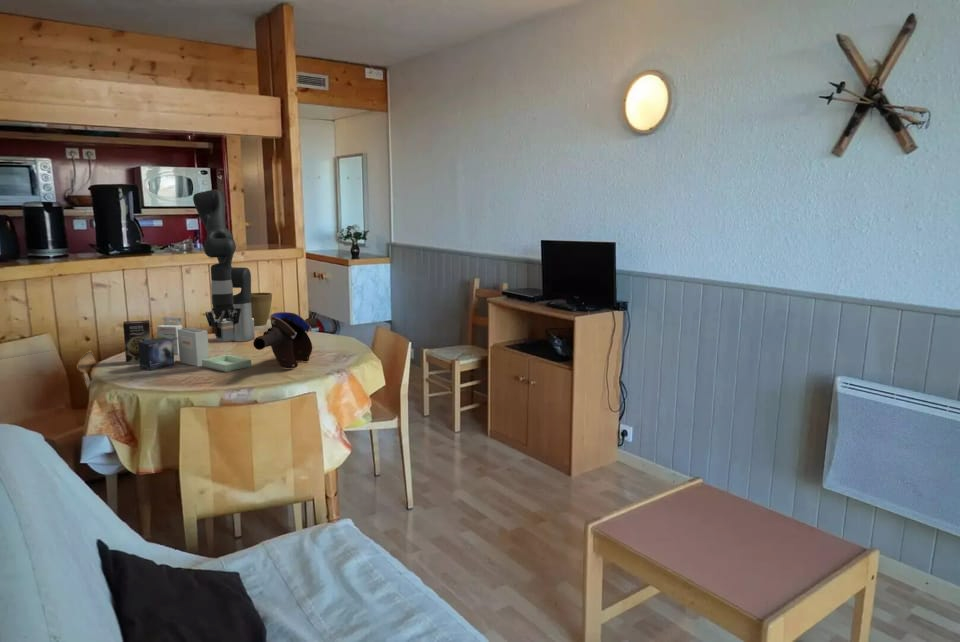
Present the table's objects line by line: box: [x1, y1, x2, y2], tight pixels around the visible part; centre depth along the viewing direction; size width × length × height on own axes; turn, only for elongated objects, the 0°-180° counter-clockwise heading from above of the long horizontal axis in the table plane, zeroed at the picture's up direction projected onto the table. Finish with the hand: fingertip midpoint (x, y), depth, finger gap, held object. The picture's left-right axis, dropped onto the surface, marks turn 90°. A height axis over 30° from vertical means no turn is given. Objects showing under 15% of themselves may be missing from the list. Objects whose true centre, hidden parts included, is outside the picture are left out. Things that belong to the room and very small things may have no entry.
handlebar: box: [252, 311, 318, 369], centre depth 246 cm, size 45×13×20 cm, turn 170°
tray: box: [201, 354, 252, 373], centre depth 244 cm, size 11×15×3 cm
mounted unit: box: [177, 327, 210, 367], centre depth 248 cm, size 6×12×13 cm, turn 56°
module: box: [215, 319, 234, 342], centre depth 241 cm, size 5×5×7 cm
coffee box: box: [122, 320, 151, 365], centre depth 248 cm, size 9×6×16 cm
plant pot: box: [251, 292, 273, 327], centre depth 330 cm, size 15×15×16 cm
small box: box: [138, 337, 176, 372], centre depth 241 cm, size 11×6×10 cm, turn 148°
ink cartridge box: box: [156, 316, 183, 356], centre depth 263 cm, size 9×5×15 cm, turn 84°
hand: (224, 336), depth 242 cm, fingers closed on module, 4 cm apart
